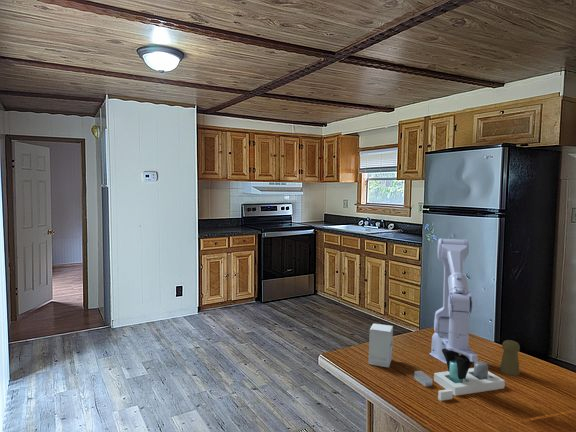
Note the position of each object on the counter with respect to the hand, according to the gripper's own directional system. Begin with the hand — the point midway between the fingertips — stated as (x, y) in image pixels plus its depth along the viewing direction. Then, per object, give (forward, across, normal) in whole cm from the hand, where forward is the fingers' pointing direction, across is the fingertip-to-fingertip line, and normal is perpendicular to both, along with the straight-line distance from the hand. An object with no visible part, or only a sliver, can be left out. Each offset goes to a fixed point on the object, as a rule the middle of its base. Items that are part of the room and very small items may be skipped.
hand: (456, 375), depth 127 cm
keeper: (+4, +6, -8) cm, 11 cm away
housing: (+4, 0, +4) cm, 6 cm away
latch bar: (+4, -5, -8) cm, 11 cm away
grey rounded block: (+3, 0, +9) cm, 10 cm away
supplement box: (+4, -23, -14) cm, 27 cm away
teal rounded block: (+2, 0, 0) cm, 2 cm away
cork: (+4, -4, +24) cm, 25 cm away
